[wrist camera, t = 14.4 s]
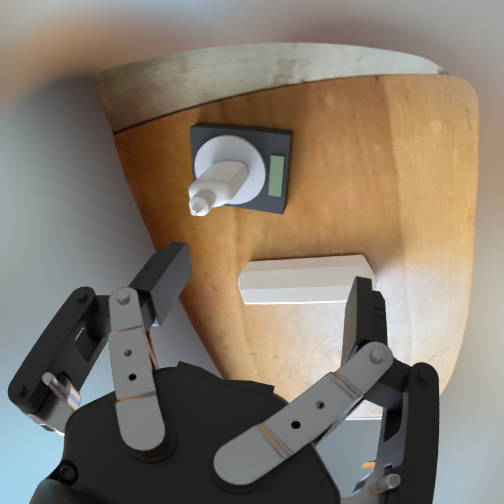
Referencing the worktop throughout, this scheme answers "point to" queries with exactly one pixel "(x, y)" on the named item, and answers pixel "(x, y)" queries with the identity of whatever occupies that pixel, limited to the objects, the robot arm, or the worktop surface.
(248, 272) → the chamfered white bar
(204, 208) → the eye dropper bottle
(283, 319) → the worktop surface
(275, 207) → the kitchen scale
